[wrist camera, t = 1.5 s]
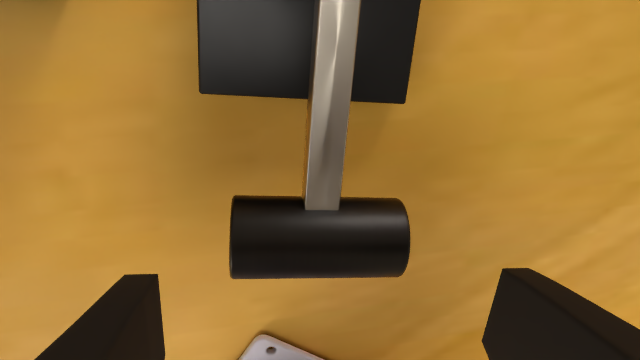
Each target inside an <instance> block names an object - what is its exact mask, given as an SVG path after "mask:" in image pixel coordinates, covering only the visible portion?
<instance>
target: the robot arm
mask: <svg viewBox="0 0 640 360" xmlns="http://www.w3.org/2000/svg"><path fill="white" fill-rule="evenodd" d="M482 343H483V345H484V348H485V350H486V353H487V355H488V358H489V360H640V329H638V328H636V327H634V326H633V325H631V324H629V323H627V322H626V321H624V320H622V319H620V318H619V317H617V316H615V315H613V314H612V313H610V312H608V311H606V310H605V309H603V308H601V307H599V306H598V305H596V304H594V303H592V302H591V301H589V300H587V299H585V298H584V297H582V296H580V295H578V294H577V293H575V292H573V291H571V290H570V289H568V288H566V287H564V286H562V285H561V284H559V283H557V282H555V281H553V280H551V279H550V278H548V277H546V276H544V275H542V274H540V273H538V272H536V271H534V270H531V269H529V268H503V269H502V272H501V275H500V279H499V282H498V286H497V289H496V293H495V296H494V300H493V303H492V307H491V310H490V314H489V317H488V321H487V324H486V328H485V331H484V335H483V338H482ZM268 347H275V348H273V349H268ZM164 359H165V346H164V335H163V325H162V314H161V303H160V292H159V281H158V274H135V275H124V276H123V277H122V278H121V279H120V280H118V281H117V282H116V283H115V284H114V285H113V286H112V287H111V288H110V289H109V290H108V291H107V292H106V293H105V294H104V295H103V296H102V297H101V298H100V299H99V300H98V301H97V302H95V303H94V304H93V305H92V306H91V307H90V308H89V309H88V310H87V311H86V312H85V313H84V314H83V315H82V316H81V317H80V318H79V319H78V320H77V321H76V322H75V323H74V324H73V325H72V326H70V327H69V328H68V329H67V330H66V331H65V332H64V333H63V334H62V335H61V336H60V337H59V338H57V339H56V340H55V341H54V342H53V343H52V344H51V345H50V346H49V347H48V348H47V349H45V350H44V351H43V352H42V353H41V354H40V355H39V356H38V357H37V358H36V359H34V360H164ZM239 360H324V359H322V358H320V357H317V356H315V355H313V354H310V353H308V352H306V351H303V350H301V349H299V348H296V347H294V346H292V345H289V344H287V343H285V342H282V341H280V340H278V339H275V338H273V337H271V336H269V335H265V334H263V335H259V336H257V337H255V338H254V340H253V341H252V342H251V344H250V345H249V346H248V348H247V349H246V350H245V352H244V353H243V354H242V356H241V357H240V358H239Z"/></svg>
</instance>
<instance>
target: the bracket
mask: <svg viewBox="0 0 640 360" xmlns="http://www.w3.org/2000/svg"><path fill="white" fill-rule="evenodd" d="M420 3H421V0H361V6H360V15H359V25H358V34H357V44H356V53H355V63H354V72H353V82H352V92H351V101H354V102H373V103H393V104H404V103H405V101H406V94H407V88H408V81H409V75H410V68H411V62H412V55H413V48H414V42H415V35H416V29H417V22H418V16H419V9H420ZM314 5H315V0H197V31H198V69H199V92H200V93H201V94H216V95H235V96H255V97H275V98H295V99H308V94H309V79H310V64H311V49H312V35H313V20H314Z"/></svg>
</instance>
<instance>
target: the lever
mask: <svg viewBox="0 0 640 360" xmlns="http://www.w3.org/2000/svg"><path fill="white" fill-rule="evenodd" d="M360 6H361V0H315V5H314V20H313V35H312V49H311V64H310V79H309V94H308V108H307V123H306V138H305V153H304V167H303V182H302V197H301V196H243V195H235V196H233V199H232V205H231V218H230V245H229V267H230V276H231V278H232V279H280V278H371V277H399V276H401V275H402V274H403V273H404V271H405V270H406V267H407V264H408V259H409V253H410V226H409V220H408V215H407V212H406V209H405V206H404V204H403V203H402V202H401V201H400V200H399V199H397V198H359V197H341V187H342V177H343V168H344V158H345V149H346V139H347V130H348V120H349V111H350V101H351V92H352V82H353V72H354V63H355V53H356V44H357V34H358V25H359V15H360Z"/></svg>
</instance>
